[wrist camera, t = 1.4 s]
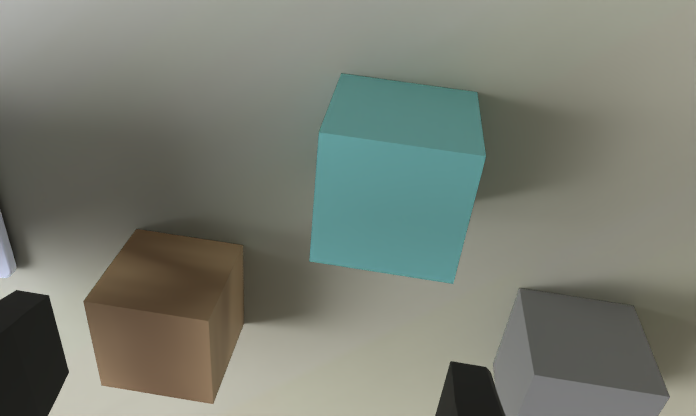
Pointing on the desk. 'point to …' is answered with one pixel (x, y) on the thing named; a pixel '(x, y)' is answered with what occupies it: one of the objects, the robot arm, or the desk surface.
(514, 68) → the desk surface
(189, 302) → the walnut block
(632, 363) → the gray cube
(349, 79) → the teal block
